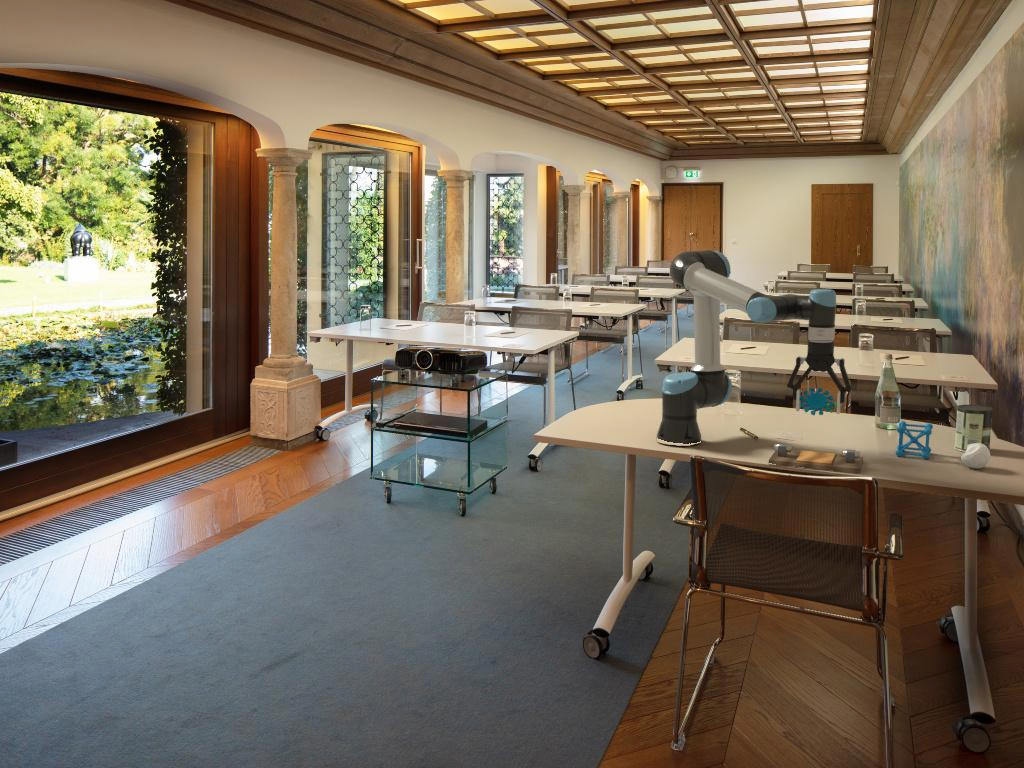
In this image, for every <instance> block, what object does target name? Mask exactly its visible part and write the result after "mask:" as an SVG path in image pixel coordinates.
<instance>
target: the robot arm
mask: <svg viewBox="0 0 1024 768" xmlns="http://www.w3.org/2000/svg"><path fill="white" fill-rule="evenodd" d="M669 275H670V277H671V280H672V281H673V282H674V283H675V284H677V285H678V286H679V287H681V288H683V289H686V290H688V291H689V292H690V293H691V295H693V323H694V325H693V327H694V364H693V366H692V367H691V368H690V371H682V372H675V373H670V374H668V375H666V376H665V377H664V378H663V381H662V388H661V391H662V393H661V394H662V397H661V399H662V404H661V405H662V408H661V409H662V410H661V411H662V412H661V415H662V416H661V417H662V418H661V422H660V425H659V428H658V431H657V434H656V439H657V438H658V439H661V440H664V441H667V442H673V443H683V444H689V443H690V444H691V443H697V442H700V441H701V442H702V433H701V430H700V427H699V423H698V419H697V417H698V415H697V414H698V410H699V409H705V408H710V407H711V408H715V407H717V406H721V405H723V404H724V403H727V401H728V400H729V399H730V397H731V394H732V391H733V383H732V379H730V378H729V377H730V376H729V375H728V374H727V373H726V370H725V369H726V368H725V367H724V366H723V365H722V364H721V338H720V337H721V336H720V335H721V331H720V330H721V328H720V323H721V322H720V321H721V320H720V302H721V303H723V304H725V305H728V306H730V307H732V308H734V309H736V310H739V311H740V312H743V313H745V314H746V315H747V317H748V318H749V319H750V321H752V322H754V323H761V324H766V323H771V322H781V321H782V322H783V321H791V320H803V321H808V332H807V340H809V341H808V342H807V354H806V356H804V357H802V356H797V357H796V359H795V366H794V368H793V371H792V373H791V375H790V378H789V379H788V383H787V384H786V387H787V388H788V389H789V388H790V389H792V400H793V401H795V403H796V404H795V412H800V409H801V407H800V402H801V400H800V397H801V389H800V386H801V385H802V383H803V382H804V381H805V380H806V378H807V377H808V375H809V374H810V373H811V372H821V373H825V372H827V374H828V375H829V376H830V378H831V380H832V381H833V382H834V384H835V385H836V387H837V388H838V390H839V391H837V397H836V399H837V400H836V402H837V407H836V415H840V414H841V404H844V403H845V401H846V397H845V396H846V393H847V392H851V390H852V387H853V386H852V385H851V381H850V378H849V376H848V372H847V370H846V367H845V362H846V361H845V359H844V358H835V355H834V353H835V342H834V340H835V335H836V334H835V333H836V323H835V322H836V313H837V311H836V310H837V293H836V291H835V290H833V289H826V288H824V289H820V288H818V289H811V290H810V292H809V295H802V294H793V293H789V294H788V293H787V294H784V293H783V294H780V295H775V296H770V295H767V294H766V293H763V292H760V291H759V290H756V289H753V288H752V287H750V286H747V285H745V284H743V283H740V282H737V281H735V280H733V279H730V277H731V276H730V275H731V264H730V262H729V260H728V257H727V256H726V255H725V254H724V253H723V252H720V251H717V250H709V249H708V250H693V251H690V250H689V251H687V250H686V251H683V252H680V253H678V254H677V255H676V256H675V257H673V259H672V260H671V262H670V265H669ZM804 362H806V364H807V365H808V367H807V369H806V370H805V372H804V373H803V374H802V375H801V377H799V379H798V380H797V382H796V383H795V384H794V381H795V379H796V377H797V374H798V372H799V370H800V368H801V365H803V364H804ZM835 363H836V366H837V367H839V371H840V374H841V376H842V380H843V382H844V384H842V382H841V380H840V379H839V377H838V376H837V374H836V373H835V371H834V369H833V368H832V366H833V365H834V364H835Z"/></svg>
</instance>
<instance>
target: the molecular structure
mask: <svg viewBox="0 0 1024 768" xmlns="http://www.w3.org/2000/svg"><path fill="white" fill-rule="evenodd" d="M908 427H914V428H915V427H916V428H924V429H914V428H913V429H912V428H908ZM933 428H934V425H933V424H932V423H930V422H928V423H926V424H924V425H923V424H913V423H907V422H906V421H904V420H900V421H899V422H898V426H897V427H896V431H897V432H898V445H897V446H896V451H894V452H895V453H894V454H895V456H896V457H898V456H899V458H900V457H902V456H903V455H905V456H913V457H914V456H916V457H922V459H923V460H929V459H930V458H931V452H932V448H931V447H930V446H929V445H930V435H932V434H933V433H932V432H933V431H932V430H933ZM911 432H912V433H913V432H914V433H918V434H917V435H916V436H915V435H914V436H913V434H912V433H911ZM904 435H905V436H907V438H909V441H907V442H906V443H904V444H903V441H904ZM923 436H925V445H923V444H922V443H921V442H919V439H920V438H922V437H923ZM912 444H915V446H916V447H912V446H911V445H912ZM910 446H911V447H910ZM905 450H911V451H920V452H921V453H916V452H915V453H914V452H905Z"/></svg>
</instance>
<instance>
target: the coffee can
mask: <svg viewBox="0 0 1024 768" xmlns="http://www.w3.org/2000/svg"><path fill="white" fill-rule="evenodd" d="M993 412H994V408H993V407H990V406H987V405H982V404H981V405H979V404H959V405H957V406H956V422H955V423H956V424H955V438H954V450H955V449H956V450H955V451H958V452H961V451H962V452H961V453H965V452H966V450H967V445H969V444H974V443H981V444H984V445H985V446H986V447H987V448H988V449H989V451H990V449H991V448H990V447H991V436H992V435H991V434H992V424H993V423H992V420H993ZM990 452H991V451H990Z"/></svg>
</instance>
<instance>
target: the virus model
mask: <svg viewBox="0 0 1024 768" xmlns="http://www.w3.org/2000/svg"><path fill="white" fill-rule="evenodd" d="M809 391H810V394H808V393H809V392H808V390H804V391H803V393H802V394H803V395H800V408H803V407H804V408H803V412H804V413H808V412H809V411H810V415H812V416H815V415H816V412H818V415H819V416H823V415H824V411H823V409H825V412H826V413H828V412H829V413H830V414H832V413H833V412H834V411H833V410H834V409H835V408H837V401H833V400H834V395H830V391H829V390H828V389H827V390H824V392H823V388H822V387H818V388H817V391H816V392H815V387H810V388H809ZM804 396H805V397H806V398H805V397H804Z"/></svg>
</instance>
